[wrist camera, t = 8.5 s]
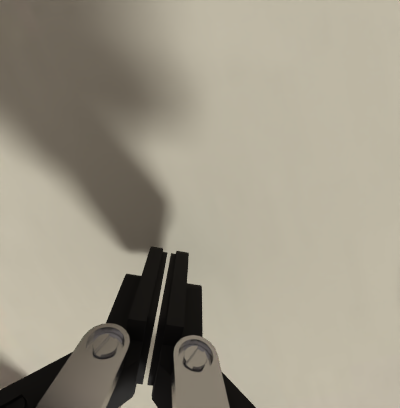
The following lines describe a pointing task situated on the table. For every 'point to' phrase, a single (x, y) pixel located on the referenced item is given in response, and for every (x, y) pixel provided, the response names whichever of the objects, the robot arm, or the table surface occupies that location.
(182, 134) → the table surface
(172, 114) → the table surface
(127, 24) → the table surface
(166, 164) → the table surface
